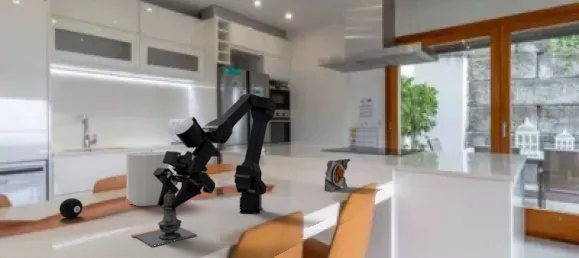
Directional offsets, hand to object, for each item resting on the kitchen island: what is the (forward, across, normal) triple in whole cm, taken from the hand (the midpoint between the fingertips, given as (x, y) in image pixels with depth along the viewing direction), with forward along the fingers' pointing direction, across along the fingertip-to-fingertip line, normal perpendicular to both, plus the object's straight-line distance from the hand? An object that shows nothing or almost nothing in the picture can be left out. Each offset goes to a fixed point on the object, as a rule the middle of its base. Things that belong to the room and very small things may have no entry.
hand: (165, 206), depth 91 cm
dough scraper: (+5, -2, +7) cm, 9 cm away
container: (-11, -42, +24) cm, 49 cm away
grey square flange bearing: (-54, +7, +67) cm, 87 cm away
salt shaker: (+5, 0, +7) cm, 8 cm away
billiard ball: (+8, -42, +4) cm, 43 cm away
